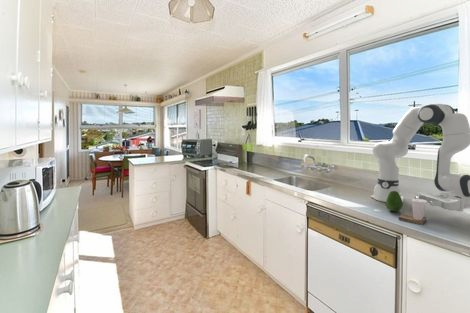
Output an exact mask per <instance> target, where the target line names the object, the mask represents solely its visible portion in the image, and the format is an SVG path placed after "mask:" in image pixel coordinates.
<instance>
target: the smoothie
mask: <svg viewBox="0 0 470 313" xmlns="http://www.w3.org/2000/svg"><path fill="white" fill-rule="evenodd" d="M417 193H418V197H417V199H415V198H412V199H411V206H412V214H413V219H416V220H422V218H423V217H424V213H425V211H426V210H425V209H426V206H427V204H428V203H427V201H426V200H422V199H419V193H420V191H417Z"/></svg>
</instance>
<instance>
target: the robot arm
mask: <svg viewBox="0 0 470 313" xmlns="http://www.w3.org/2000/svg"><path fill="white" fill-rule="evenodd" d="M424 124H426V125H434V126H438V125H439V126H440V127H441V130H442V141H441V142H442V143H441V145H440V146H439V148H438V151H437V155H436V156H437V160H436V169H435V170H436V172H435V175H434V176H435V177H434V180H433V181H434V182H433V183H434V186H435V187H436V189H437V190H438V191H440V192H439V193H438V194H434V193H429V192H419V199H422V200H426V201H427V204H429V205H430V206H432V207H434V206H436V207H439V208H441V209H444V210H448V211H457V212H463V211H464V210H465V209H470V175H469V174H464V173H463V174H461V173H459V174H457V173H454V174H453V173H452V172H451V160H452V158H453V156H454V155H456V154H457V153H459V152H462V151H464V150H466V149H467V148H468V147H469V146H470V123H469V120H468V117H467V116H466V114H464V113H459V112H457V113H456V112H455V109H454V108H453V107H452V106H451V105H449V104H443V103H429V104H426V105H423V106H421V107H418V106H417V107H411V108H410V109H409V110H408V111H407V112H406V113H405V114H404V115H403V116H402V117H401V119H400V120H399V121H398V123H397V124H396V126H395V127H394V128H393V130H392V135H393V136H392V138H391V140H389V141H380V142H377V143H375V144H374V146H373V147H372V154H373V156H374V157H375V158H376V159H377V163H378V178H377V182H376V183H377V184H376V185H375V186H374V189H373V195H371V196H370V198H372V199H374V200H377V201H379V202H382V203H383V202H385V203H386V201H387V198H388V195H389V193H390V192H391V191H396V192H398V193H399V195H400V197H401V199H402V204H404V196H402V194H401V189H400V187H399V185H400V181H399V172H400V168H399V167H398V165H397V164H396V160H395V159H399V158H402V157H404V156H406V155H407V154H408V152H409V145H410V143H411V140H412V138H413V137H414V136H415V135H416V134H417V133H418V131H419V130H420V128H421V127H422V126H423V125H424ZM417 197H418V192H416V196H415V195H414V199H417Z"/></svg>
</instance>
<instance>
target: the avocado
mask: <svg viewBox="0 0 470 313" xmlns="http://www.w3.org/2000/svg"><path fill="white" fill-rule="evenodd" d="M400 195H401V194H400ZM400 195H399V193H398V192H396V191H391V192H390V193H389V195H388V198H387V201H386V202H385V205H386V208H387V209H388V210H389V211H391V212H395V213H398V212H400V211H401V210H402V208H403V204H404V203H402V199H401V197H400Z"/></svg>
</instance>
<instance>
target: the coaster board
mask: <svg viewBox="0 0 470 313" xmlns="http://www.w3.org/2000/svg"><path fill="white" fill-rule="evenodd" d="M398 220H399V221H403V222H407V223H410V224H411V223H412V224H417V225H421V226H423V225H424V224H425V222H426V221H427V217H426V216H423V218H422V220H416V219H413V213H406V212H402V214H401V215H399V217H398Z"/></svg>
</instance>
